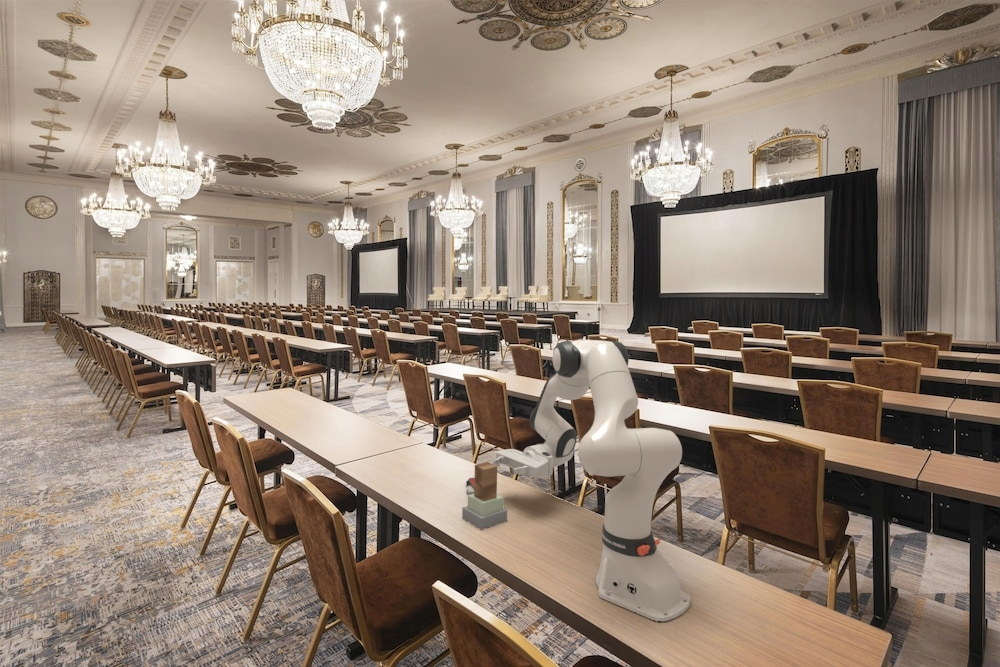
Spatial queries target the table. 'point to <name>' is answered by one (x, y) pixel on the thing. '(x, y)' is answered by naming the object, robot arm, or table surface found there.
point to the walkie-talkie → (470, 486)
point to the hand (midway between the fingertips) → (503, 467)
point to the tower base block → (484, 518)
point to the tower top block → (485, 505)
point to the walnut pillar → (485, 481)
